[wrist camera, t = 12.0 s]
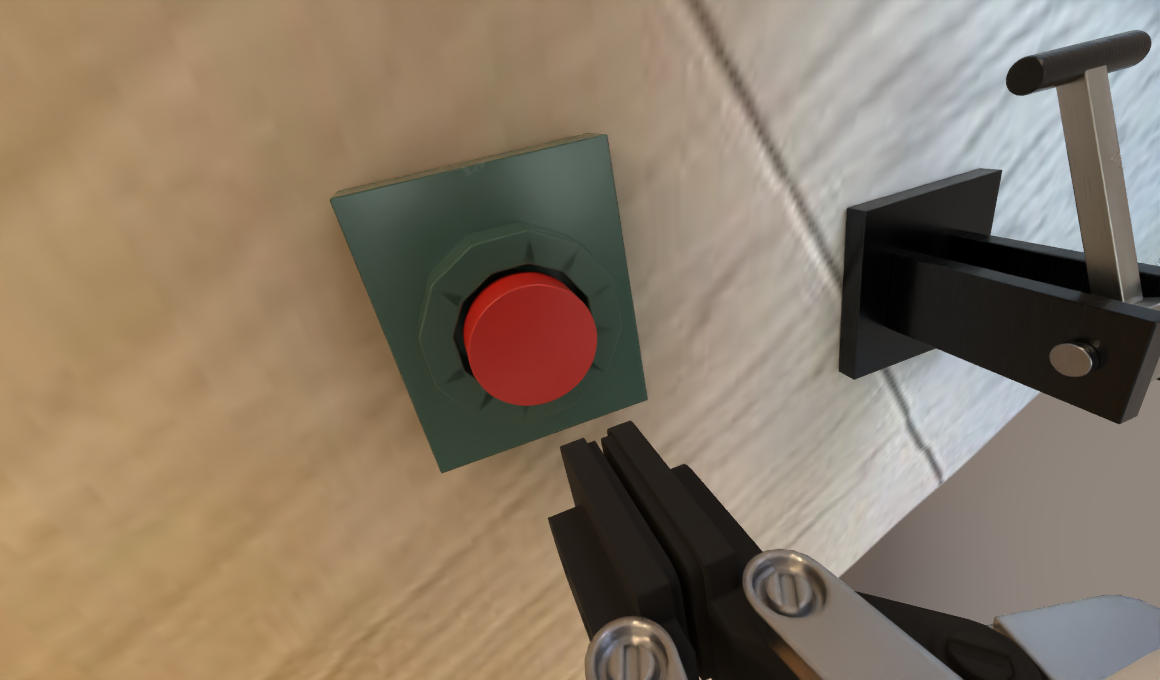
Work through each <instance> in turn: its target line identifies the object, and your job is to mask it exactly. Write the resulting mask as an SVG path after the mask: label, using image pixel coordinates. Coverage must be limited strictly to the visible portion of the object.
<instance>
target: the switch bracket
mask: <svg viewBox="0 0 1160 680" xmlns="http://www.w3.org/2000/svg"><path fill="white" fill-rule="evenodd" d="M1001 174H1002V170H996V169H982V168H980V169H977V170H973V171H970V172H967V173H963V174H960V175H957V176H953V177H950V178H947V179H943V180H940V181H936V182H933V183H930V184H926V185H923V186H920V187H916V188H913V189H910V190H906V191H903V192H900V193H896V194H893V195H890V196H886V197H883V198H880V199H876V200H873V201H870V202H866V203H863V204H859V205H856V206H853V207H849V208H847V221H846V241H845V260H844V280H843V299H842V319H841V339H840V358H839V372H841V373H843V374H845V375H847V376H848V377H850V378H852V379H854V380H855V379H857V378H860V377H862V376H865V375H868V374H870V373H873V372H875V371H878V370H881V369H883V368H886V367H888V366H891V365H894V364H896V363H899V362H902V361H904V360H907V359H909V358H912V357H915V356H917V355H920V354H922V353H925V352H928V351H930V350H933V349H935V348H937V349H939V350H941V351H944V352H946V353H949V354H951V355H953V356H956V357H958V358H961V359H963V360H966V361H968V362H970V363H973V364H975V365H978V366H980V367H982V368H985V369H987V370H990V371H992V372H994V373H997V374H999V375H1002V376H1004V377H1006V378H1009V379H1011V380H1014V381H1016V382H1019V383H1021V384H1023V385H1026V386H1028V387H1031V388H1033V389H1035V390H1038V391H1040V392H1043V393H1045V394H1048V395H1050V396H1052V397H1055V398H1057V399H1060V400H1062V401H1064V402H1067V403H1069V404H1071V405H1074V406H1077V407H1079V408H1082V409H1084V410H1086V411H1089V412H1091V413H1093V414H1096V415H1098V416H1100V417H1103V418H1105V419H1108V420H1110V421H1112V422H1115V423H1117V424H1121V423H1123V422H1125V421H1127V420H1130V419H1132V418H1134V417H1136V416H1137V415H1138V412H1139V410H1140V407H1141V405H1142V402H1143V399H1144V397H1145V394H1146V391H1147V388H1148V386H1149V384H1150V381H1151V378H1152V376H1153V373H1154V370H1155V368H1156V365H1157V363H1158V360H1159V357H1160V311H1158V310H1154V309H1149V308H1145V307H1141V306H1137V305H1133V304H1129V303H1125V302H1121V301H1116V300H1112V299H1108V298H1104V297H1100V296H1096V295H1092V294H1091V290H1090V284H1089V278H1088V272H1087V266H1086V260H1085V254H1084V252H1078V251H1073V250H1067V249H1062V248H1056V247H1051V246H1045V245H1040V244H1035V243H1029V242H1024V241H1018V240H1013V239H1007V238H1002V237H997V236H991V235H990V234H991V229H992V223H993V218H994V212H995V207H996V202H997V196H998V191H999V185H1000V180H1001ZM1137 264H1138V270H1139V276H1140V283H1141V289H1142V296H1143V297H1160V266H1154V265H1149V264H1143V263H1138V262H1137ZM1157 380H1160V377H1159V378H1157Z"/></svg>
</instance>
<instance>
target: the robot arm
mask: <svg viewBox="0 0 1160 680" xmlns="http://www.w3.org/2000/svg"><path fill="white" fill-rule="evenodd" d="M607 435H608V436H606V437H603V438H601V444H602V449H603V452H602V451H601V449H600V448H599V446H598V445H597V443H596V442H595V441H592V442H590V443H587V442H586V440H585V439H584V438H582V439H579V440H576V441H573V442H571V443H568V444H565V445H563V446H560V450H561V454H562V458H563V462H564V465H565V469H566V473H567V477H568V481H569V484H570V488H571V492H572V496H573V499H574V503H575V507H574V508H572V509H569V510H567V511H564V512H562V513H559V514H557V515H554V516H552V517H549V518H548V520H549V524H550V528H551V531H552V534H553V538H554V541H555V544H556V547H557V550H558V553H559V557H560V560H561V562H562V565H563V568H564V571H565V574H566V577H567V580H568V582H569V585H570V588H571V591H572V593H573V596H574V599H575V601H576V604H577V607H578V610H579V612H580V615H581V618H582V620H583V623H584V626H585V629H586V631H587V634H588V637H589V639H590V644H589V646H588V649H587V653H586V657H585V677H586V680H699V677H700V678H701V679H702V680H707V679H709V678H711V679H712V680H1160V608H1159V607H1156V606H1154V605H1152V604H1149V603H1147V602H1145V601H1143V600H1140V599H1135V598H1131V597H1126V596H1122V595H1102V596H1097V597H1092V598H1087V599H1082V600H1077V601H1072V602H1067V603H1062V604H1057V605H1052V606H1048V607H1043V608H1037V609H1033V610H1028V611H1022V612H1017V613H1013V614H1007V615H1003V616H997V617H995V618H994V622H993V624H990V625H983V624H981V623H978V622H975V621H972V620H969V619H965V618H961V617H957V616H953V615H949V614H945V613H941V612H937V611H933V610H929V609H925V608H921V607H917V606H913V605H909V604H905V603H901V602H897V601H892V600H889V599H885V598H881V597H877V596H872V595H868V594H864V593H860V592H856V591H853V590H852V589H851V588H849V587H848V586H847V585H846V584H845V583H843V582H842V581H841V580H840V579H838V578H837V577H836V576H835V575H834V574H832V573H831V572H830V571H829V570H827V569H826V568H825V567H824V566H823V565H821V564H820V563H819V562H817V561H815V560H814V559H812V558H811V557H809V556H808V555H805V554H802V553H799V552H796V551H794V550H785V549H775V550H767V551H765V552H762V550H761V549H760V548H759V547H758V546H757V545H756V543H755V542H754V541H753V540H752V539H751V538H750V537H749V535H748V534H747V533H746V532H745V531H744V530H743V528H742V527H741V526H740V525H739V524H738V523H737V521H736V520H735V519H734V518H733V517H732V516H731V514H730V513H729V512H728V511H727V510H726V509H725V507H724V506H723V505H722V504H721V503H720V502H719V501H718V499H717V498H716V497H715V496H714V495H713V494H712V492H711V491H710V490H709V489H708V488H707V487H706V485H705V484H704V483H703V482H702V481H701V480H700V478H699V477H698V476H697V475H696V474H695V473H694V472H693V470H692V469H691V468H690V467H689V466H688V465H685V464H682V465H680V466H677V467H675V468H672V469H670V468H669V467H668V466H667V464H666V463H665V462H664V461H663V459H662V458H661V457H660V456H659V454H658V453H657V452H656V451H655V449H654V448H653V447H652V446H651V444H650V443H649V442H648V441H647V439H646V438H645V437H644V436H643V434H642V433H641V432H640V431H639V429H638V428H637V427H636V426H635V424H634V423H633V422H632V421H628V422H625V423H622V424H619V425H617V426H614V427H611V428H609V429H608V430H607ZM603 453H604V454H603Z"/></svg>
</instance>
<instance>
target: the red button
mask: <svg viewBox="0 0 1160 680" xmlns="http://www.w3.org/2000/svg"><path fill="white" fill-rule="evenodd" d="M463 338H464V344H465V348H466V352H467V356H468V359H469V363H470V366H471V369H472V372H473V374H474V376H475V378H476V380H477V381H478V383H479V384H480V385H481V386H482V387H483V388H484V389H485V390H486V391H487V392H488V393H489V394H491V395H492V396H494V397H495V398H497V399H499V400H501V401H504V402H507V403H510V404H514V405H522V406H531V405H539V404H544V403H547V402H550V401H553V400H555V399H558V398H559V397H561V396H563V395H565V394H566V393H568V392H569V391H571V390H572V389H573V388H574V387H575V386H576V385H577V384H578V383H579V382H580V381H581V380H582V379H583V377H584V376H585V375H586V373H587V372H588V370H589V368H590V366H591V364H592V362H593V359H594V356H595V353H596V347H597V331H596V326H595V322H594V319H593V317H592V315H591V313H590V311H589V309H588V308H587V307H586V305H585V304H584V303H583V302H582V301H581V300H580V299H579V298H578V297H577V296H576V295H575V294H574V293H573V292H572V291H571V290H570V289H569V288H568V287H567V286H566V285H565V284H564V283H562V282H561V281H559V280H558V279H556V278H554V277H552V276H550V275H547V274H543V273H539V272H528V271H525V272H517V273H512V274H508V275H506V276H503V277H501V278H499V279H497V280H495V281H493V282H492V283H490V284H489V285H487V286H486V287H485V288H484V289H483V290H482V291H481V292H480V293H479V294H478V295H477V296H476V297H475V299H474V300H473V302H472V303H471V305H470V307H469V309H468V311H467V314H466V317H465V321H464V327H463Z"/></svg>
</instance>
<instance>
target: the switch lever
mask: <svg viewBox="0 0 1160 680" xmlns="http://www.w3.org/2000/svg"><path fill="white" fill-rule="evenodd" d="M1150 48H1151V38H1150V36H1149V35H1148V34H1147V33H1145V32H1144V31H1140V30H1133V31H1128V32H1124V33H1120V34H1116V35H1112V36H1108V37H1104V38H1100V39H1096V40H1092V41H1088V42H1084V43H1080V44H1076V45H1071V46H1067V47H1063V48H1059V49H1055V50H1051V51H1047V52H1043V53H1039V54H1035V55H1031V56H1027V57H1024V58H1022V59H1020V60H1018V61H1017V62H1016V63H1015V64H1014V65H1013V66H1012V67H1011V68H1010V70H1009V71H1008V74H1007V77H1006V85H1007V88H1008V90H1009V91H1010V92H1011V93H1013V94H1015V95H1019V96H1024V95H1028V94H1032V93H1036V92H1039V91H1043V90H1047V89H1051V88H1054V87H1056V89H1057V95H1058V101H1059V107H1060V113H1061V119H1062V125H1063V131H1064V136H1065V142H1066V148H1067V154H1068V160H1069V166H1070V172H1071V178H1072V184H1073V190H1074V195H1075V201H1076V207H1077V213H1078V219H1079V225H1080V231H1081V237H1082V243H1083V248H1084V254H1085V260H1086V266H1087V272H1088V278H1089V284H1090V290H1091V294H1092V295H1096V296H1100V297H1104V298H1108V299H1112V300H1116V301H1121V302H1125V303H1129V304H1133V305H1137V306H1141V307H1145V308H1149V309H1154V310H1158V311H1160V297H1143V296H1142V289H1141V283H1140V276H1139V270H1138V264H1137V257H1136V251H1135V245H1134V238H1133V232H1132V226H1131V219H1130V213H1129V207H1128V200H1127V194H1126V187H1125V181H1124V175H1123V168H1122V162H1121V156H1120V149H1119V143H1118V137H1117V130H1116V124H1115V118H1114V111H1113V105H1112V99H1111V92H1110V86H1109V79H1108V73H1111V72H1114V71H1118V70H1122V69H1126V68H1129V67H1132V66H1134V65H1136V64H1138V63H1139V62H1140V61H1142V60H1143V59H1144V58H1145V57H1146V55H1147V54H1148V52H1149V50H1150ZM1159 377H1160V357H1159V360H1158V363H1157V365H1156V368H1155V370H1154V373H1153V376H1152V378H1151V381H1153V380H1155V379H1157V378H1159Z"/></svg>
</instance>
